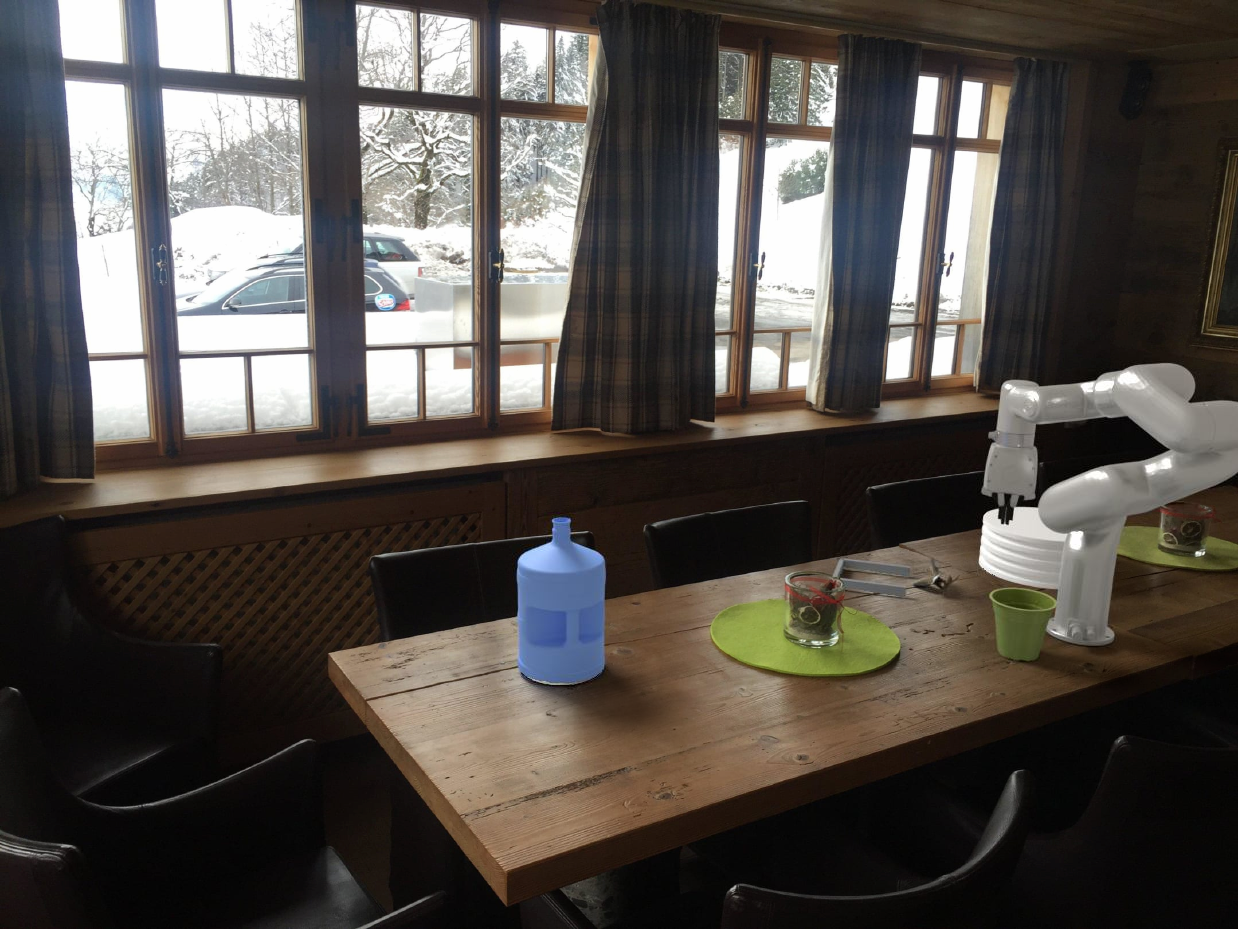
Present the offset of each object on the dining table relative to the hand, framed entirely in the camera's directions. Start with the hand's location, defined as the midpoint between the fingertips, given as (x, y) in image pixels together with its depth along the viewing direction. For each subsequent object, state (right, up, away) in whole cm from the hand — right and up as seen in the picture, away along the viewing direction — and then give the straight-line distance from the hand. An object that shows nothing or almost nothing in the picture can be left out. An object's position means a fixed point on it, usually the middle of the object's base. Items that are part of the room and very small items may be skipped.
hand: (1004, 522), depth 215 cm
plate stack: (+18, -13, +24) cm, 32 cm away
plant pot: (-7, -24, -25) cm, 35 cm away
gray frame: (-26, -14, +12) cm, 32 cm away
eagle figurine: (-13, -16, +9) cm, 22 cm away
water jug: (-93, -25, -34) cm, 102 cm away
